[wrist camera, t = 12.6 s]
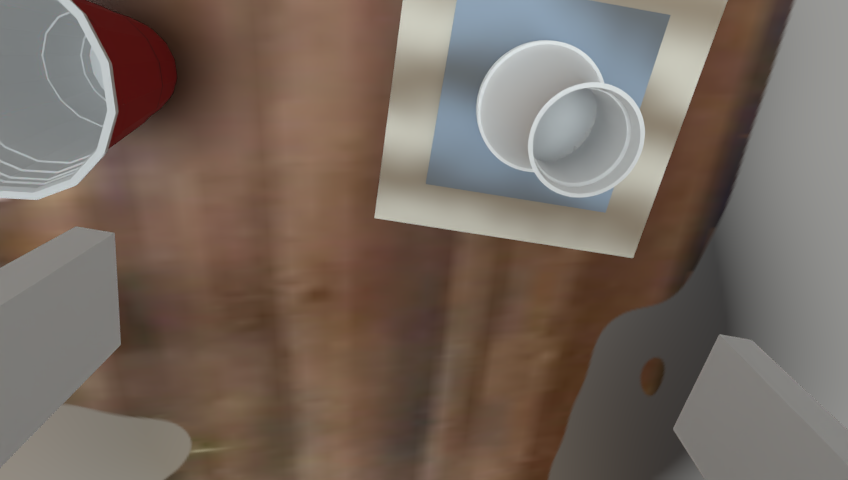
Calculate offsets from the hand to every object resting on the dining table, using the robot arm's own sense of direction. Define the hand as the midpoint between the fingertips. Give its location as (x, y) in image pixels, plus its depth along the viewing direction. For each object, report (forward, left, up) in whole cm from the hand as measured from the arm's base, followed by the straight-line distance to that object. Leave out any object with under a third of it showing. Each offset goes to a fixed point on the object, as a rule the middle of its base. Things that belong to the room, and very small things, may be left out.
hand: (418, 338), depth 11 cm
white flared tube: (+3, -6, -22) cm, 23 cm away
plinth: (+3, -7, -25) cm, 26 cm away
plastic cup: (+1, +19, -25) cm, 32 cm away
